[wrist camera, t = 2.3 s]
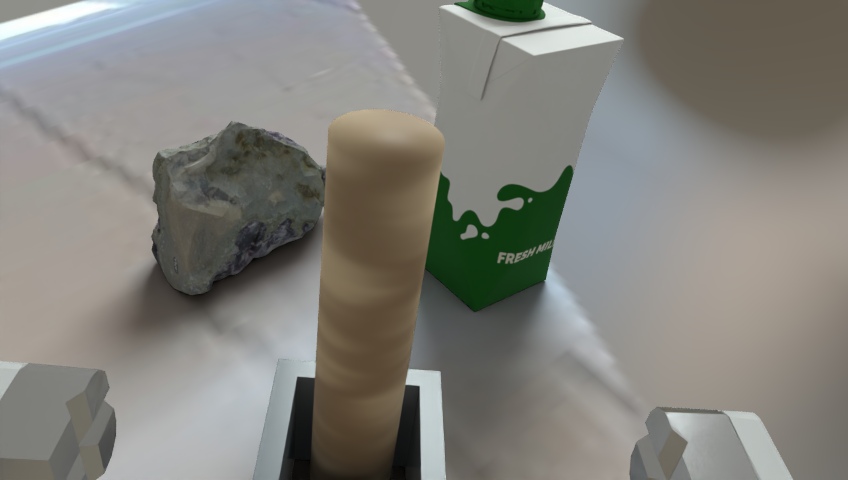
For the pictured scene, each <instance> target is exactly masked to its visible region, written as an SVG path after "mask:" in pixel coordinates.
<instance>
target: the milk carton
mask: <svg viewBox="0 0 848 480" xmlns="http://www.w3.org/2000/svg"><path fill="white" fill-rule="evenodd" d="M439 26H440V57H441V84H440V91H439V98H438V105H437V111H436V118H435V125H434V126H435V127H436V128H437V129H438V130H439V131H440V132H441V133H442V134H443V136H444V139H445V147H444V153H443V159H442V165H441V171H440V177H439V184H438V190H437V196H436V202H435V208H434V214H433V220H432V226H431V232H430V239H429V245H428V251H427V257H426V263H425V268H426V269H427V270H428V271H429V272H430V273H431V274H432V275H434V276H435V277H436V278H437V279H438V280H439V281H440V282H442V283H443V284H444V285H445V286H446V287H447V288H448V289H450V290H451V291H452V292H453V293H454V294H455V295H456V296H457V297H459V298H460V299H461V300H462V301H463V302H464V303H465V304H467V305H468V306H469V307H470V308H471V309H472V310H473V311H475V312H476V311H478V310H480V309H482V308H484V307H486V306H489V305H491V304H493V303H495V302H497V301H500V300H502V299H504V298H506V297H508V296H511V295H513V294H515V293H517V292H519V291H521V290H524V289H526V288H528V287H530V286H532V285H535V284H537V283H539V282H541V281H543V280H546V276H547V271H548V267H549V262H550V258H551V253H552V249H553V244H554V240H555V235H556V232H557V228H558V225H559V221H560V218H561V215H562V211H563V208H564V204H565V200H566V197H567V194H568V190H569V187H570V184H571V180H572V177H573V173H574V170H575V167H576V163H577V159H578V156H579V153H580V149H581V146H582V142H583V139H584V136H585V132H586V129H587V125H588V122H589V119H590V116H591V113H592V110H593V108H594V105H595V103H596V101H597V98H598V96H599V94H600V92H601V89H602V87H603V85H604V82H605V80H606V78H607V75H608V73H609V71H610V69H611V67H612V64H613V62H614V60H615V58H616V56H617V53H618V51H619V49H620V47H621V45H622V42H623V40H624V39H623V38H621V37H619V36H616V35H614V34H612V33H609V32H607V31H605V30H603V29H600V28H598V27H596V26H593V25H592V22H591V21H589V20H587V19H585V18H583V17H580V16H575V15H573V14H571V13H568V12H566V11H564V10H561V9H558V8H557V7H554V6H552V5H549V4H547V3H545V2H543V0H469V1H468V2H458V3H455V4H454V5H445V6H441V7H440V8H439Z"/></svg>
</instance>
